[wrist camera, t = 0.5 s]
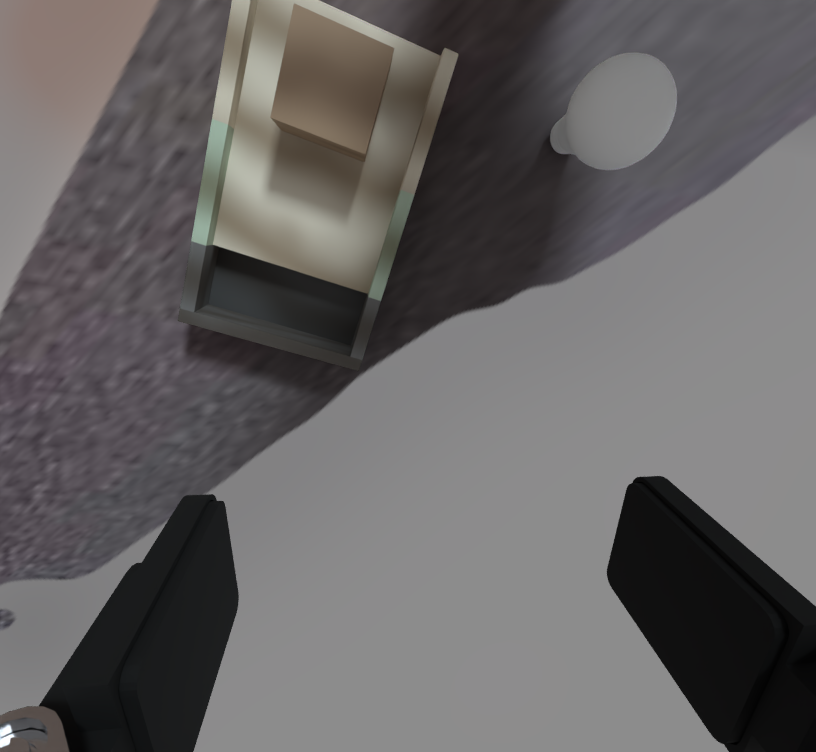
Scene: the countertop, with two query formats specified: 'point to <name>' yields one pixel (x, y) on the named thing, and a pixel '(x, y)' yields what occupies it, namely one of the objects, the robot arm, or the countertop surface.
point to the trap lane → (304, 197)
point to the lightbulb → (618, 112)
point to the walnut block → (330, 83)
